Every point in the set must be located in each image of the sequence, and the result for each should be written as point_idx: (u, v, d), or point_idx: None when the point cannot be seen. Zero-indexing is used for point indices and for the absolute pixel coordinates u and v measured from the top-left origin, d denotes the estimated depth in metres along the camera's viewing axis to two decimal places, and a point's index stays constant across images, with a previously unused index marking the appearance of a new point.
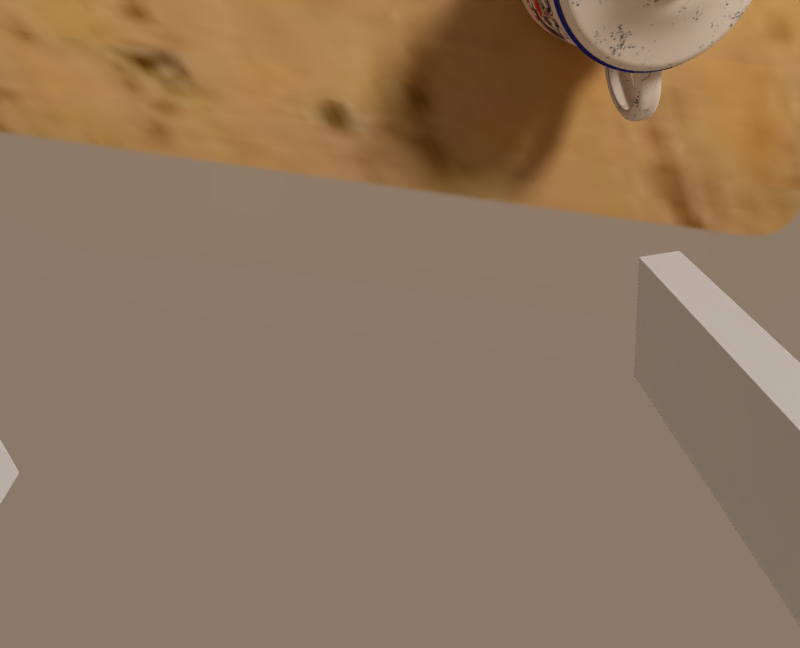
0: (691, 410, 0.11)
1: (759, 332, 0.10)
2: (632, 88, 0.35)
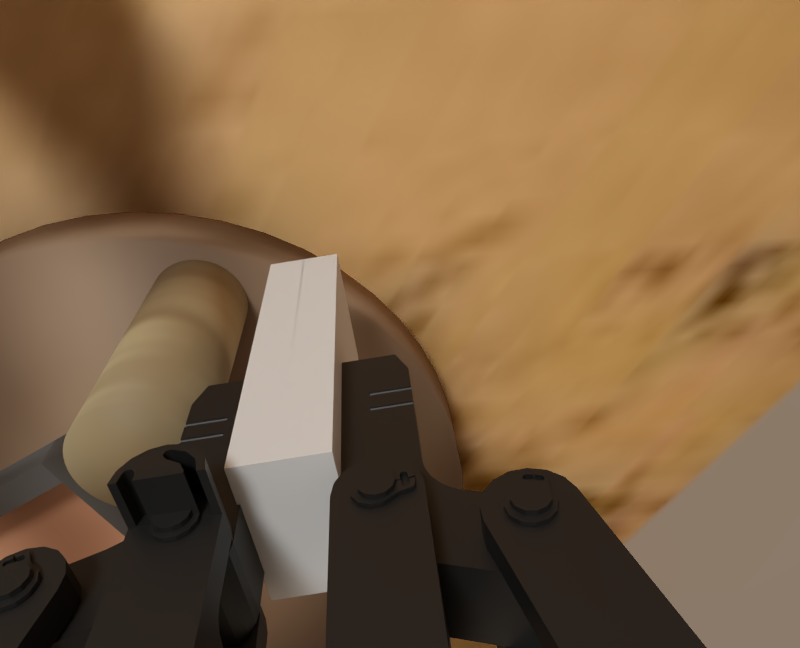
0: None
1: (330, 321, 0.12)
2: None
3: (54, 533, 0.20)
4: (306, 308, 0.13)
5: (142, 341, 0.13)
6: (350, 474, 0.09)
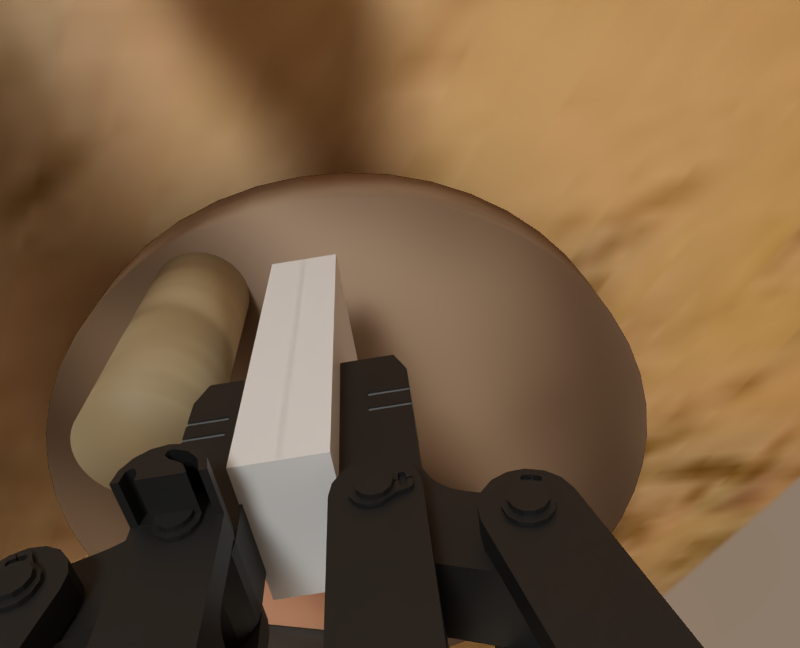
0: None
1: (329, 322, 0.12)
2: None
3: None
4: (305, 308, 0.13)
5: (111, 354, 0.13)
6: (348, 474, 0.09)
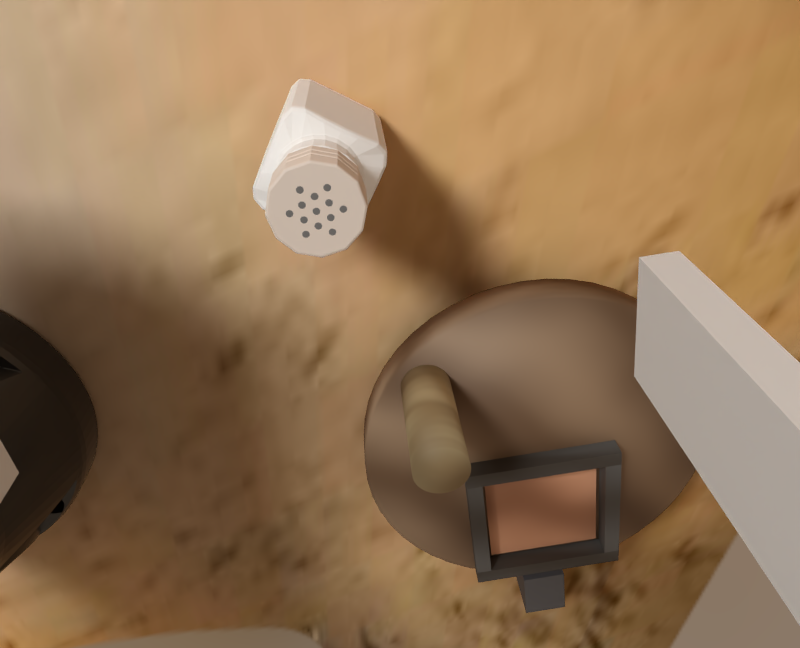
0: (691, 410, 0.11)
1: (759, 332, 0.10)
2: None
3: (516, 503, 0.36)
4: (708, 315, 0.10)
5: (408, 434, 0.29)
6: None
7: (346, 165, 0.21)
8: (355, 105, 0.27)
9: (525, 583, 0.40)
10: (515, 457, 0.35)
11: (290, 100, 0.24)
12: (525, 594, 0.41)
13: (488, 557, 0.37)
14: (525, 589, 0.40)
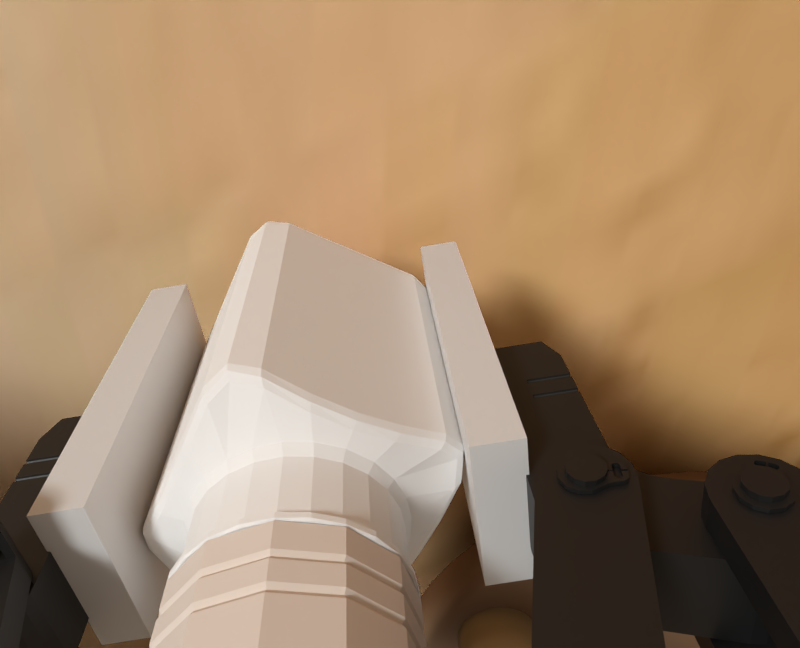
0: None
1: (474, 308, 0.12)
2: None
3: None
4: (443, 295, 0.12)
5: None
6: (556, 456, 0.08)
7: (372, 601, 0.07)
8: (380, 279, 0.13)
9: None
10: None
11: (233, 319, 0.10)
12: None
13: None
14: None
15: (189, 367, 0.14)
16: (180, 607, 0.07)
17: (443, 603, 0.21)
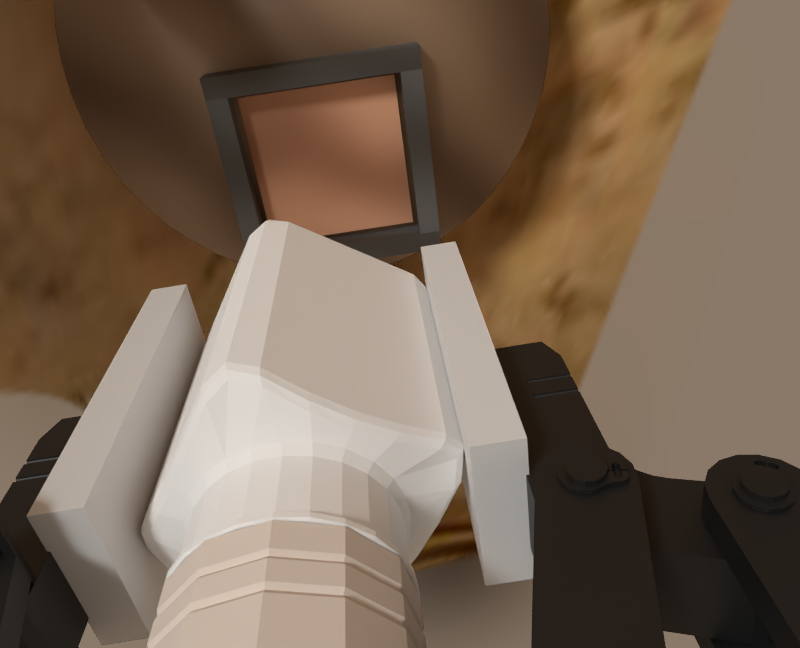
0: None
1: (474, 308, 0.12)
2: None
3: (292, 151, 0.27)
4: (443, 295, 0.12)
5: None
6: (556, 456, 0.08)
7: (371, 601, 0.07)
8: (380, 278, 0.13)
9: None
10: (276, 62, 0.25)
11: (232, 317, 0.10)
12: None
13: None
14: None
15: (189, 367, 0.14)
16: (178, 607, 0.07)
17: None
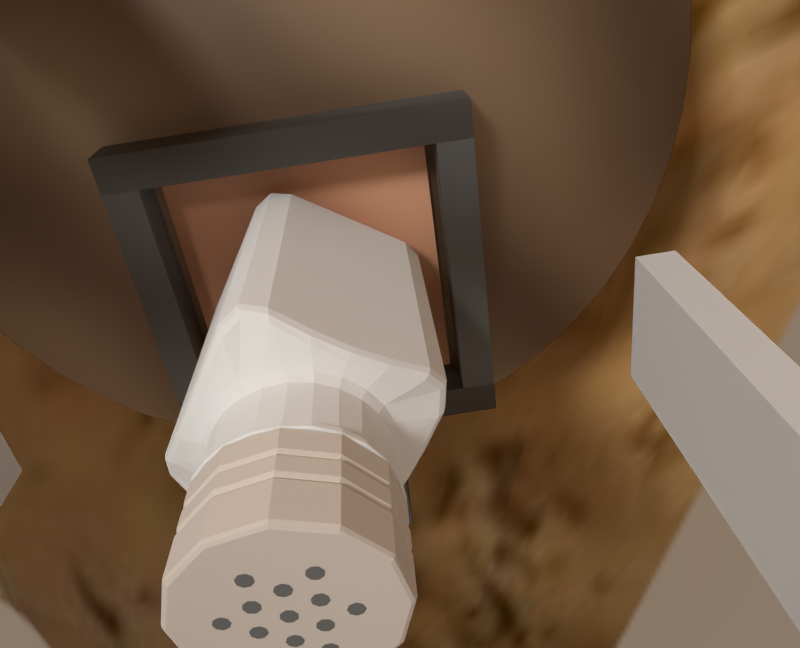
0: (687, 409, 0.11)
1: (754, 331, 0.10)
2: None
3: None
4: (703, 315, 0.10)
5: None
6: None
7: (363, 490, 0.09)
8: (374, 244, 0.15)
9: None
10: (224, 127, 0.15)
11: (242, 271, 0.12)
12: None
13: None
14: None
15: None
16: (202, 496, 0.09)
17: None
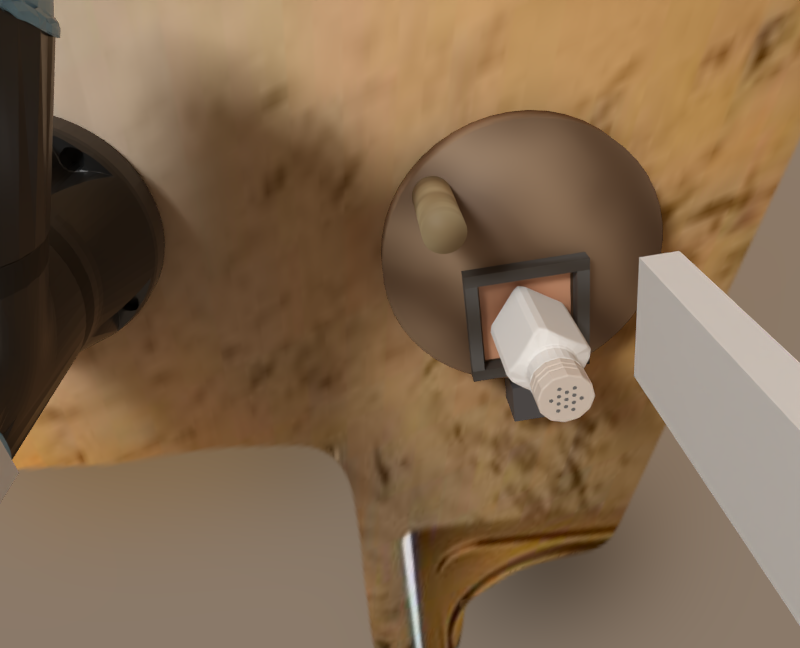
0: (691, 410, 0.11)
1: (759, 332, 0.10)
2: None
3: None
4: (708, 316, 0.10)
5: (418, 214, 0.37)
6: None
7: (581, 371, 0.37)
8: (555, 304, 0.43)
9: (513, 391, 0.48)
10: (504, 265, 0.43)
11: (530, 316, 0.40)
12: (513, 403, 0.49)
13: (482, 356, 0.45)
14: (513, 397, 0.49)
15: None
16: (544, 373, 0.37)
17: (404, 185, 0.41)
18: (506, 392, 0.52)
